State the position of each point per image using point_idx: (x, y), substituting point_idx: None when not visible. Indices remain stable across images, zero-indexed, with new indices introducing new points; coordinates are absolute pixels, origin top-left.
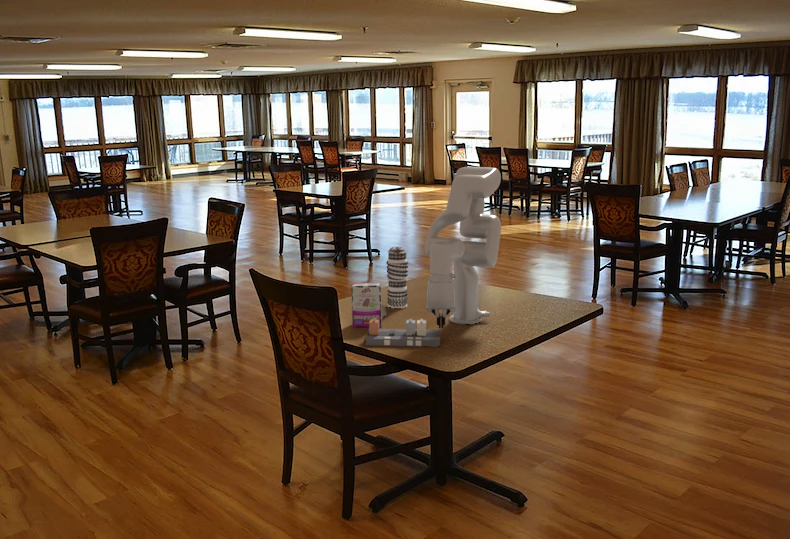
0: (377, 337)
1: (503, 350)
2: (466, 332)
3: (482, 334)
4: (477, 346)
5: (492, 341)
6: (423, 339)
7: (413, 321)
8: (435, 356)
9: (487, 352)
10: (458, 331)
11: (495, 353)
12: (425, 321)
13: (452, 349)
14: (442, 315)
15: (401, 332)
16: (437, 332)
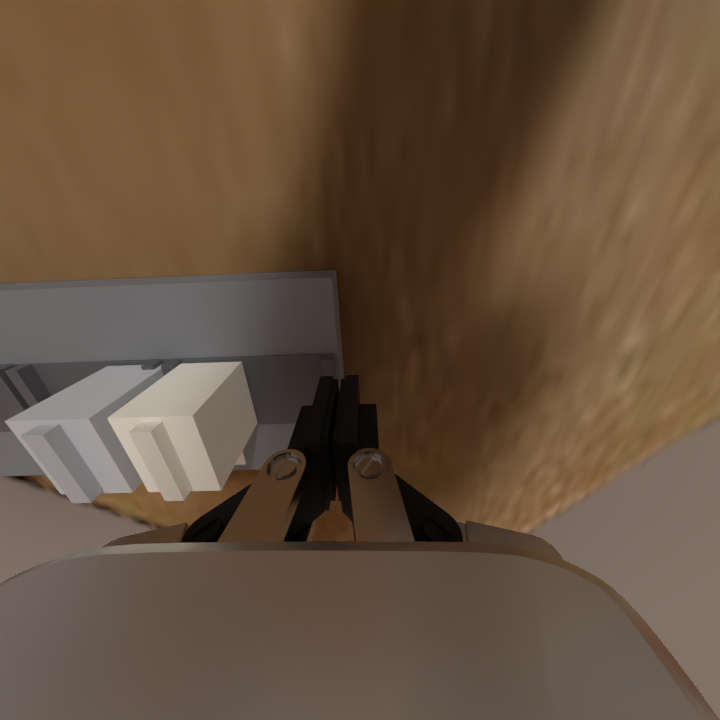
0: (4, 458)
1: (636, 458)
2: (547, 134)
3: (658, 184)
4: (533, 421)
5: (651, 340)
6: (259, 466)
7: (95, 455)
8: (339, 526)
9: (553, 482)
10: (484, 105)
11: (582, 489)
12: (198, 447)
13: (406, 463)
14: (350, 512)
15: (80, 373)
16: (319, 345)
